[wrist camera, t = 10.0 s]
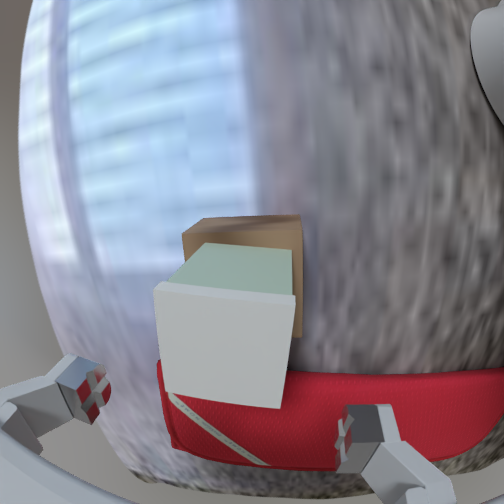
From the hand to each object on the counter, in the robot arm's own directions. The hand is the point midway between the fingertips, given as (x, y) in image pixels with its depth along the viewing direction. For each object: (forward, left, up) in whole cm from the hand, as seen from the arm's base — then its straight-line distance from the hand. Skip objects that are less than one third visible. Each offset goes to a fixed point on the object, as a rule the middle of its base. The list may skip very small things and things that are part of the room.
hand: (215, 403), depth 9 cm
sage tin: (0, 0, -10) cm, 10 cm away
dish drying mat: (-12, +18, -15) cm, 26 cm away
